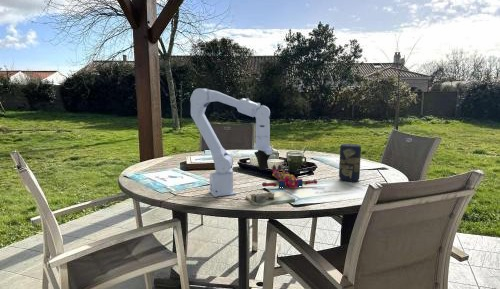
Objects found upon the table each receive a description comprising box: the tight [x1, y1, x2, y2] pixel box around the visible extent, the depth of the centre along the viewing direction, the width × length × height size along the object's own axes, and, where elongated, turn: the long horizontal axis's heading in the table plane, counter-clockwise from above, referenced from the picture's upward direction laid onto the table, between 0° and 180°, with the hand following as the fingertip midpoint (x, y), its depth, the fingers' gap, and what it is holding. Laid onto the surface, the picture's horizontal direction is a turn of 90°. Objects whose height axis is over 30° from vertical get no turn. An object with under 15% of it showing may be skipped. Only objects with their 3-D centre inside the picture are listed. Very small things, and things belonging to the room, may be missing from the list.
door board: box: [245, 191, 296, 207], centre depth 141 cm, size 16×11×4 cm
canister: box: [338, 142, 362, 182], centre depth 171 cm, size 10×10×18 cm
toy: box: [261, 164, 318, 189], centre depth 167 cm, size 25×6×30 cm
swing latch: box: [250, 191, 274, 201], centre depth 137 cm, size 9×3×2 cm, turn 112°
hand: (262, 169), depth 147 cm, fingers closed
